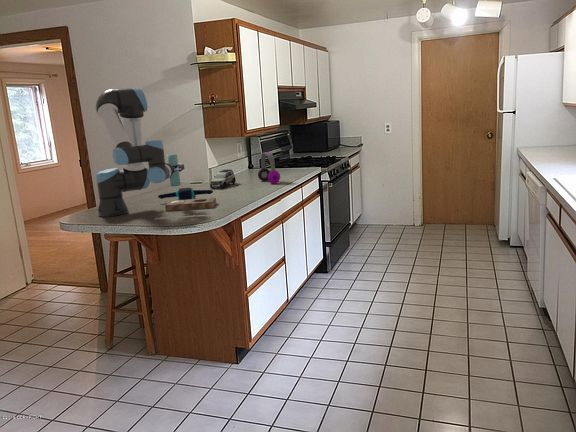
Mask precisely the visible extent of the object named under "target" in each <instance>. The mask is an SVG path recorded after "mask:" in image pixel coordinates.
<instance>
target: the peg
mask: <svg viewBox="0 0 576 432" xmlns="http://www.w3.org/2000/svg"><path fill="white" fill-rule="evenodd" d="M166 159H167V163H168V164H170V165H171V166H172V165H174V166H176V165H177V164H179V161H178V154H177V153H172V154H166ZM169 181H170V187H180V186H181V185H182V184H181V176H180V172H179V171H178V170H177V171H175V172H174V173H173V175H172V176H171V177H170V178H169Z"/></svg>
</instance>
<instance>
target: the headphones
mask: <svg viewBox="0 0 576 432" xmlns="http://www.w3.org/2000/svg"><path fill="white" fill-rule="evenodd" d="M260 155H261V156H260V169H259V170H258V172H257V177H258V179H259V180H260V181H261V182H267V181H268V183H270V184H272V185H273V184H274V185H275V184H278V183H279V182H280V179H281V175H280V172H279V171H278V170H276V165H275V163H276V162H275V158H274V155H273V153H272V152H271V151H267V152H262V153H261V154H260ZM267 159H268V162H269V163H270V170H269V169H268V168H266V167H265V166H266V160H267Z"/></svg>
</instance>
